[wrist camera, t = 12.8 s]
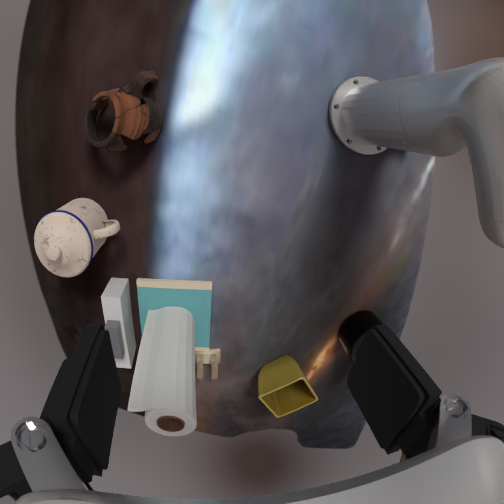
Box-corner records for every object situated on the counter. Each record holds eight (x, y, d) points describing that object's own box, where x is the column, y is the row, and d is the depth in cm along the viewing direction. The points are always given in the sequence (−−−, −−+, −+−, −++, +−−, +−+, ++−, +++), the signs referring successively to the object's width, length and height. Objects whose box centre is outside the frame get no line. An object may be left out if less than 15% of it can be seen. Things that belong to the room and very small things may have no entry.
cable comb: (219, 348, 52) (222, 369, 47) (219, 358, 53) (221, 378, 48) (165, 347, 50) (163, 368, 45) (166, 356, 51) (164, 377, 46)
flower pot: (268, 386, 58) (277, 419, 50) (249, 363, 55) (257, 397, 46) (305, 369, 58) (319, 400, 50) (290, 343, 54) (304, 376, 46)
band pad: (212, 281, 47) (212, 283, 46) (209, 350, 52) (209, 352, 51) (137, 278, 44) (136, 280, 44) (144, 347, 50) (143, 350, 49)
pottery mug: (150, 162, 39) (107, 168, 32) (113, 131, 40) (72, 133, 32) (190, 87, 33) (149, 77, 26) (147, 62, 34) (105, 52, 27)
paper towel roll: (201, 325, 49) (207, 430, 29) (172, 339, 49) (165, 442, 30) (179, 293, 46) (170, 398, 26) (148, 309, 46) (126, 412, 27)
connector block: (128, 278, 44) (116, 305, 37) (136, 346, 49) (129, 376, 42) (111, 277, 44) (97, 303, 36) (121, 345, 49) (112, 375, 41)
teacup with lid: (68, 256, 41) (37, 291, 31) (54, 202, 38) (15, 225, 27) (134, 244, 42) (115, 280, 32) (121, 186, 39) (94, 205, 28)
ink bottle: (328, 343, 56) (352, 385, 45) (346, 307, 53) (375, 346, 42) (365, 345, 58) (391, 382, 47) (384, 311, 56) (415, 346, 45)
